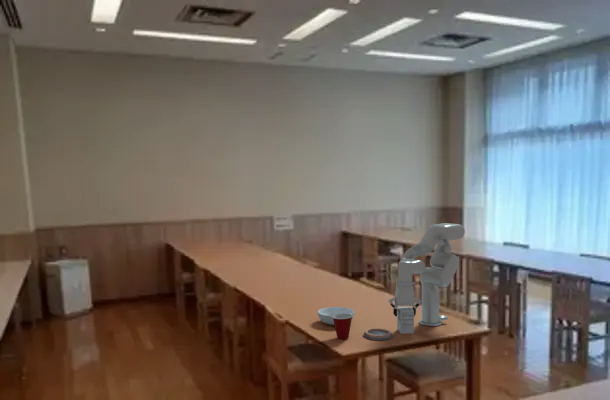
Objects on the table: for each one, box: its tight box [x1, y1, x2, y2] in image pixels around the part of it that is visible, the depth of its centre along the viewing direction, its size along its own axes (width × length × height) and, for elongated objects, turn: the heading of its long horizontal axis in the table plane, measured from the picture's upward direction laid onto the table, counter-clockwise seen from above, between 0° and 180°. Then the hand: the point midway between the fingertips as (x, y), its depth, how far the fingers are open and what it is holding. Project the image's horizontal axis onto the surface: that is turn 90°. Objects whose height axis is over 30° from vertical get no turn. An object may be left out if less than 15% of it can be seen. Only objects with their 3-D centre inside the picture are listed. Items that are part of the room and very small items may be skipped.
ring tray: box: [363, 327, 394, 342], centre depth 269 cm, size 15×15×2 cm
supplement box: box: [396, 306, 415, 335], centre depth 275 cm, size 7×7×13 cm
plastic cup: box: [332, 314, 354, 341], centre depth 266 cm, size 11×11×12 cm
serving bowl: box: [317, 306, 355, 326], centre depth 293 cm, size 21×21×7 cm
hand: (404, 315), depth 275 cm, fingers open, 9 cm apart
